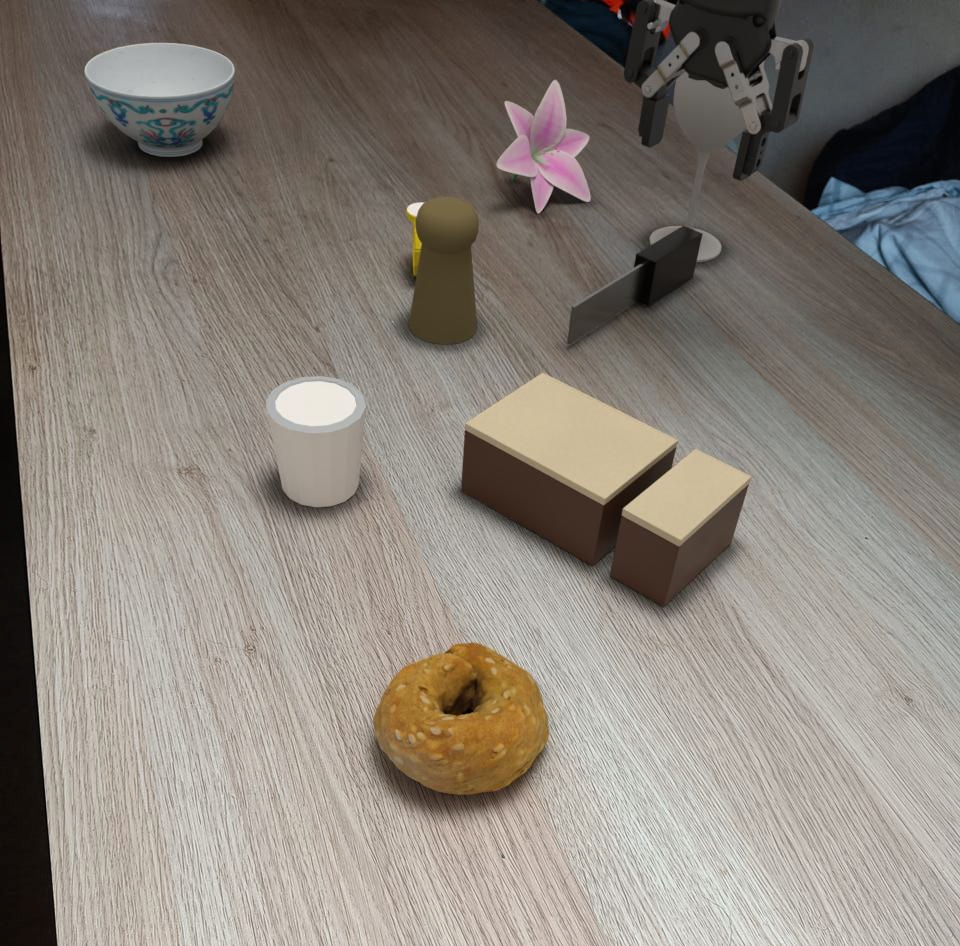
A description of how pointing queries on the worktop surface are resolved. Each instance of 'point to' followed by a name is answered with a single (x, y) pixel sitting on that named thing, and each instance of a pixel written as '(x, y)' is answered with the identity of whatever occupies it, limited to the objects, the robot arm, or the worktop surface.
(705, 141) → the wineglass
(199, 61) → the chinaware
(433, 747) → the bagel
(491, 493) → the cake loaf
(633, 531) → the cake slice
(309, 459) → the cup of milk
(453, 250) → the chess pawn piece
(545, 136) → the lily
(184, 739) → the worktop surface
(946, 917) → the worktop surface
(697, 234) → the knife
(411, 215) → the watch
